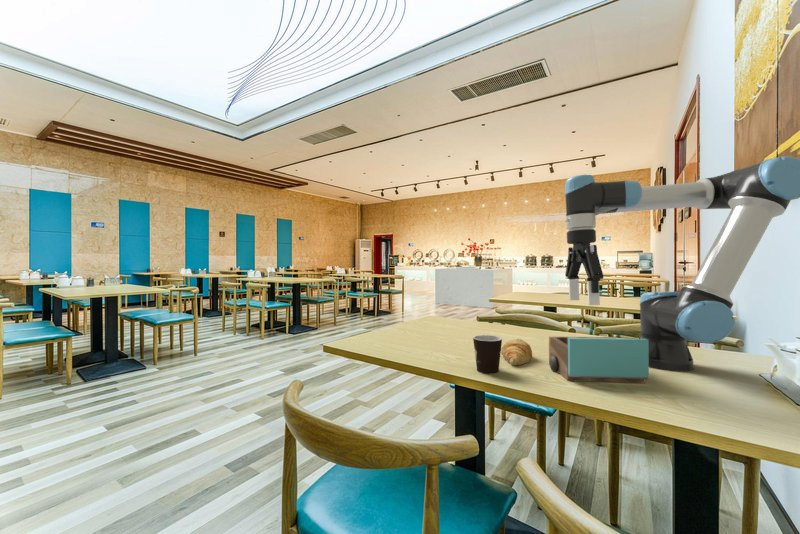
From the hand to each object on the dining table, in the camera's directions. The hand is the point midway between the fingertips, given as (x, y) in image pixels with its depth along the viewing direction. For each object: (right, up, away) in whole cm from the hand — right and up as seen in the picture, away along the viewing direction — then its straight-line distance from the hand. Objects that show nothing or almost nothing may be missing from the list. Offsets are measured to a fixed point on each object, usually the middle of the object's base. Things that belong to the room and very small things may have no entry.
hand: (583, 302), depth 102 cm
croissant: (-14, -22, +18) cm, 31 cm away
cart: (+4, -21, +2) cm, 21 cm away
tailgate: (+3, -19, -7) cm, 21 cm away
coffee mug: (-26, -22, +6) cm, 34 cm away
